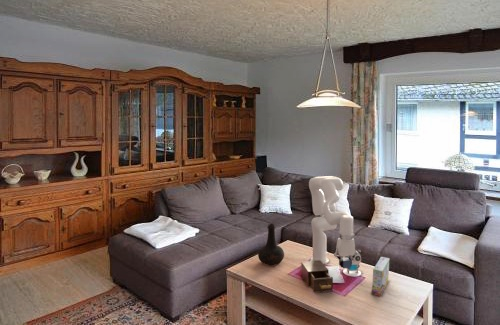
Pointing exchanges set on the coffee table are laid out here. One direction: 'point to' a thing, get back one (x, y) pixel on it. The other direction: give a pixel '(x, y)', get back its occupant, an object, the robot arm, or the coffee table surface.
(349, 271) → the panda figurine
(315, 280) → the drawer
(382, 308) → the coffee table surface
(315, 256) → the robot arm
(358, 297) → the coffee table surface
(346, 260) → the block
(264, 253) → the black vase
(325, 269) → the cabinet
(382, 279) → the snack box
